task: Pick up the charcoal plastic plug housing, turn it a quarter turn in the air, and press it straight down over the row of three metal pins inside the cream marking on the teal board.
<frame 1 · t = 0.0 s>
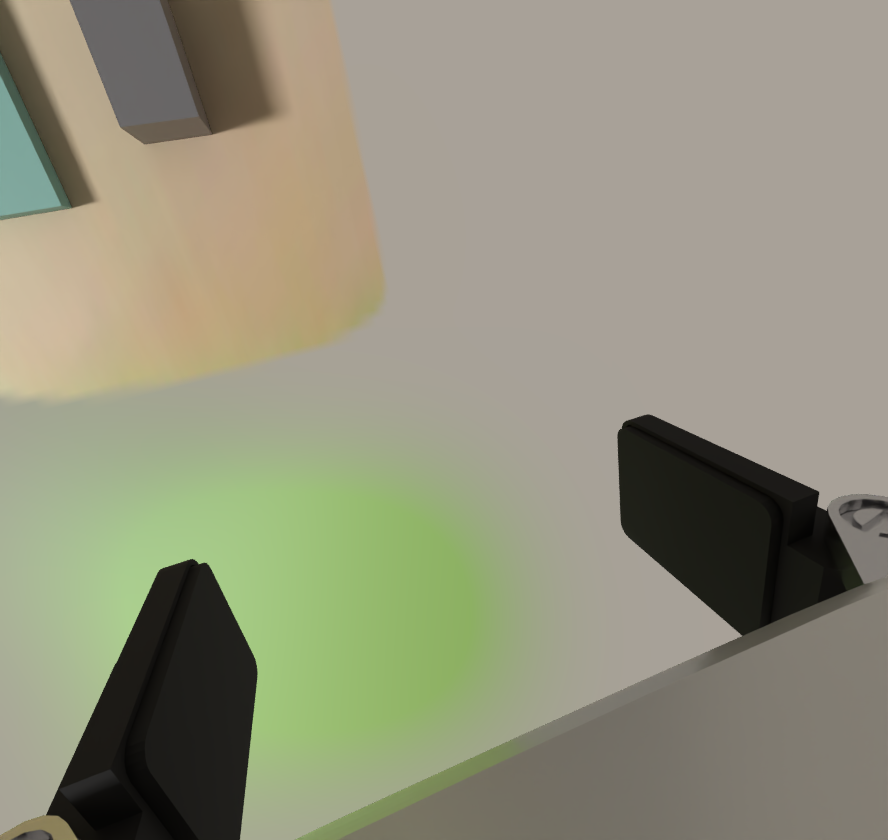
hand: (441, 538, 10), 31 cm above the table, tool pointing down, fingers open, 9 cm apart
plug housing: (153, 69, 29), on the table
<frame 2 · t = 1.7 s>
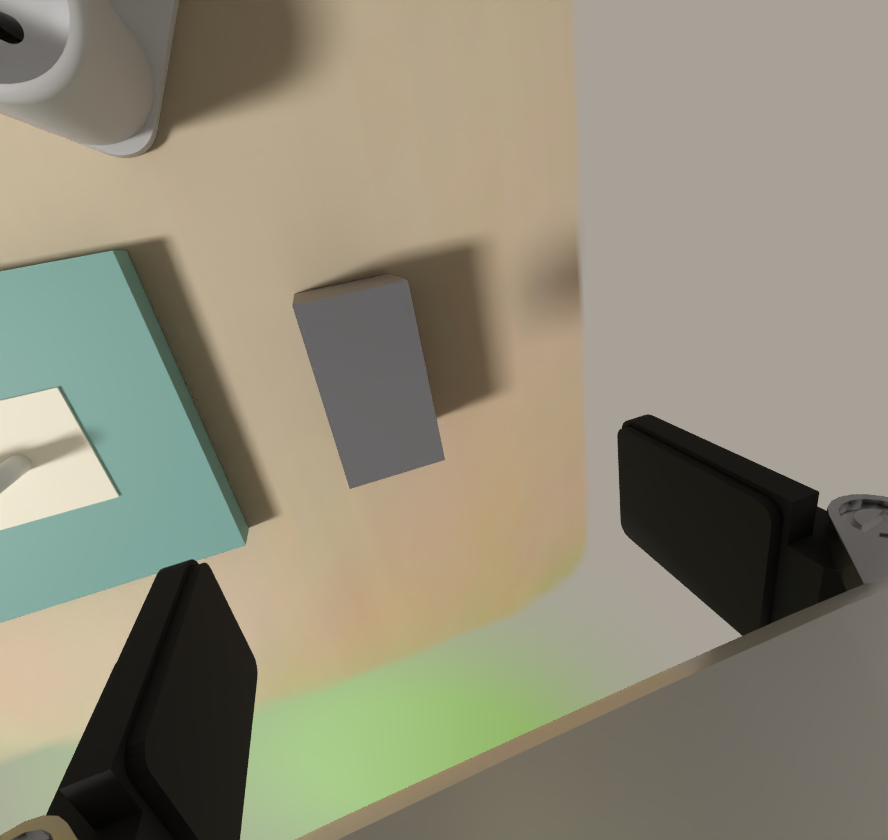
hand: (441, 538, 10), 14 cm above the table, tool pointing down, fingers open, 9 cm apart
plug housing: (363, 365, 23), on the table
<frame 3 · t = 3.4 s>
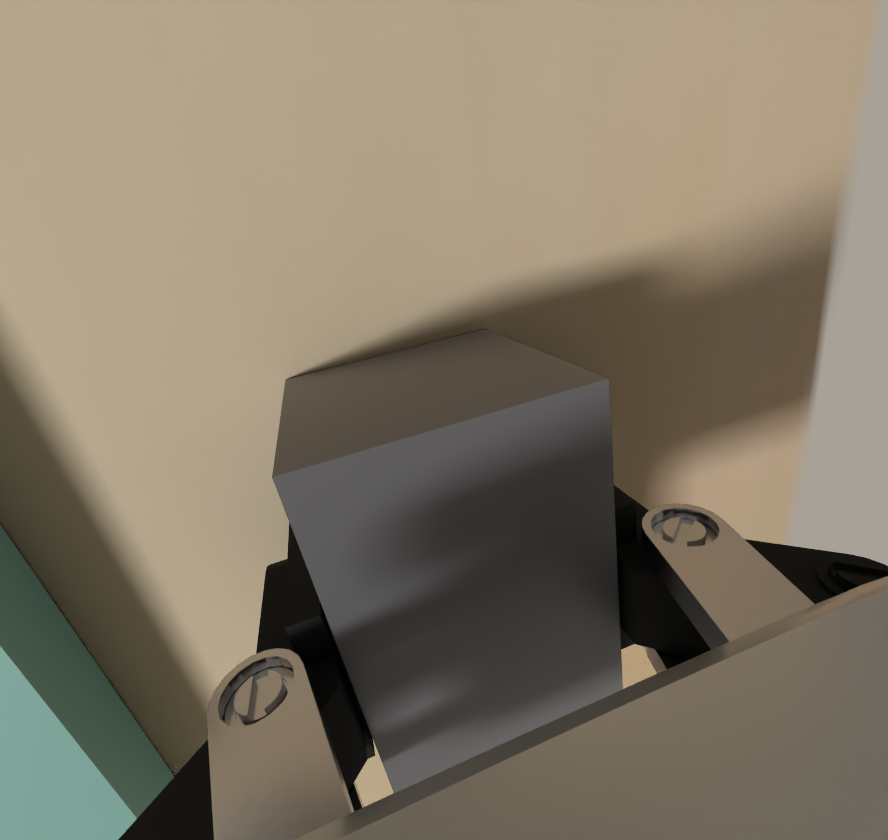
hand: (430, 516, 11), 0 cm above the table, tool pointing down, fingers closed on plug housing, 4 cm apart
plug housing: (427, 508, 11), on the table, touching gripper
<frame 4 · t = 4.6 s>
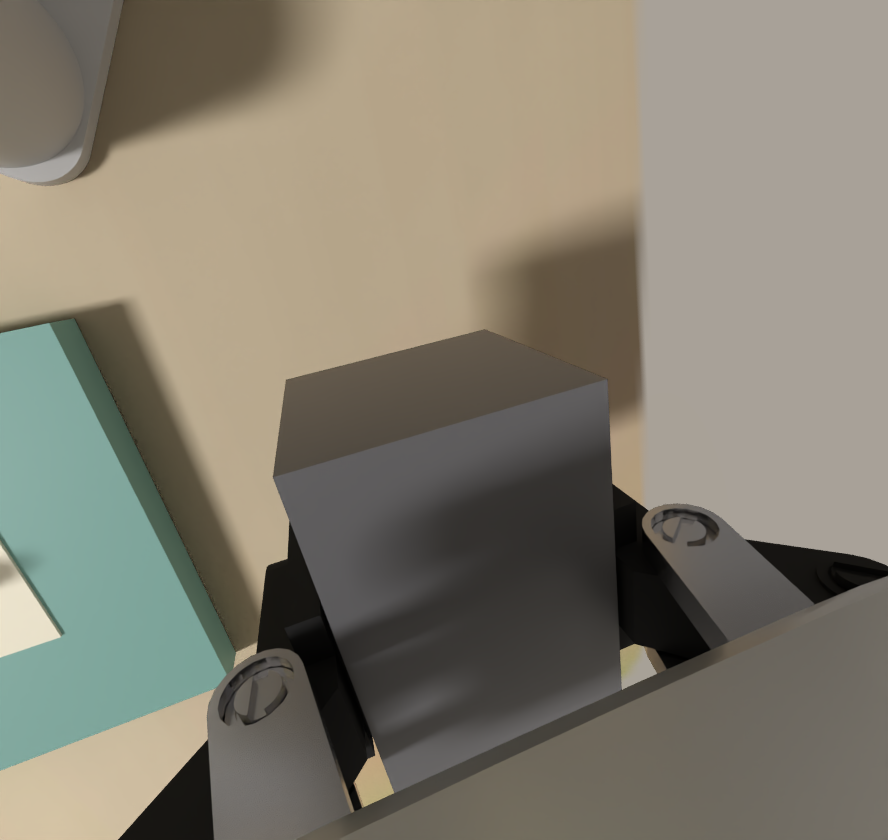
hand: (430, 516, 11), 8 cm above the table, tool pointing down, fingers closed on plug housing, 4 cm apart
plug housing: (426, 508, 11), point 7 cm above the table, touching gripper
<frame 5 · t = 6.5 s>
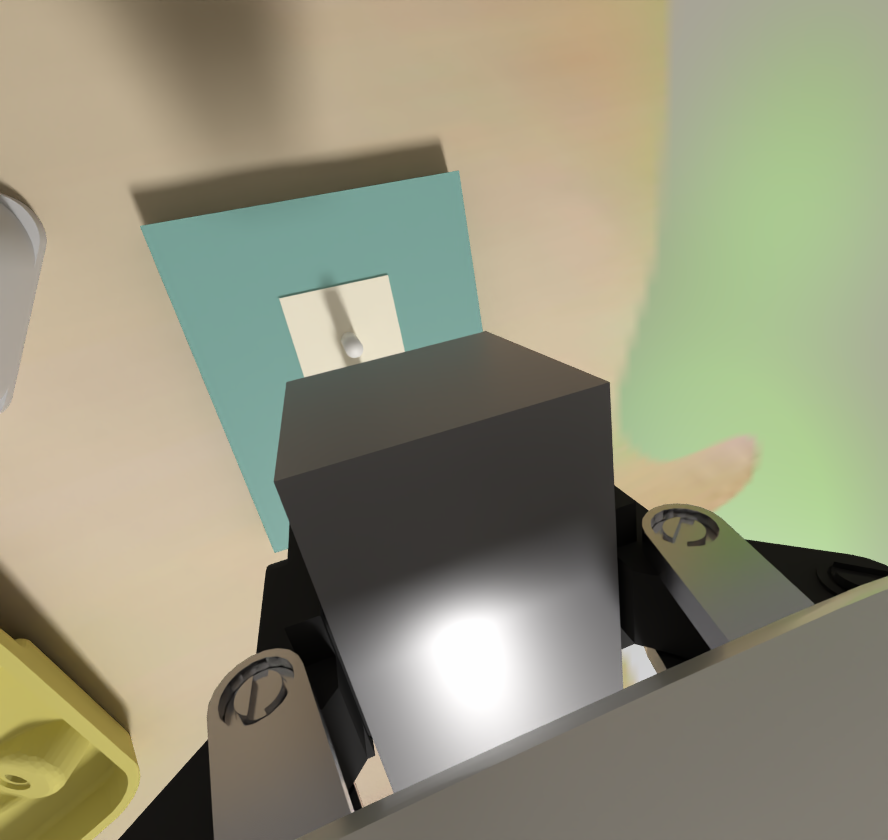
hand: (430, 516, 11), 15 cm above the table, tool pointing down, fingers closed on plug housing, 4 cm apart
plug housing: (427, 510, 11), point 15 cm above the table, touching gripper
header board: (355, 370, 25), on the table
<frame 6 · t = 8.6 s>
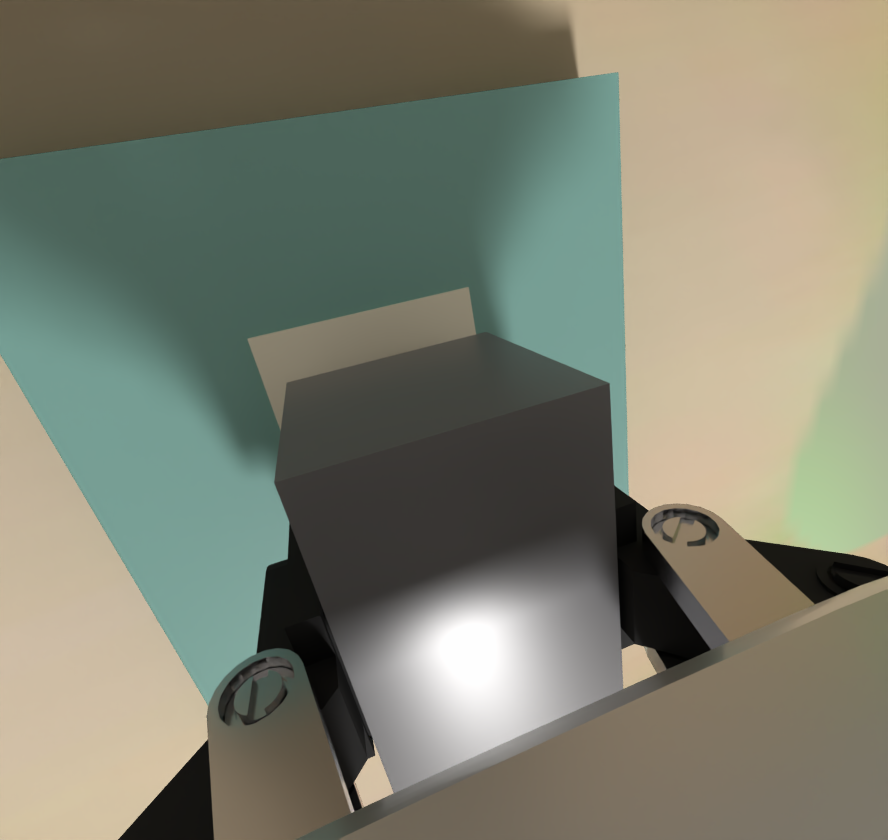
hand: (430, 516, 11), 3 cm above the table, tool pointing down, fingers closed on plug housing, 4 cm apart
plug housing: (427, 510, 11), point 3 cm above the table, touching gripper
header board: (394, 457, 14), on the table
when the fingers open (2 cm above the table, at t = 9.9 s): plug housing stays where it is, resting on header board.
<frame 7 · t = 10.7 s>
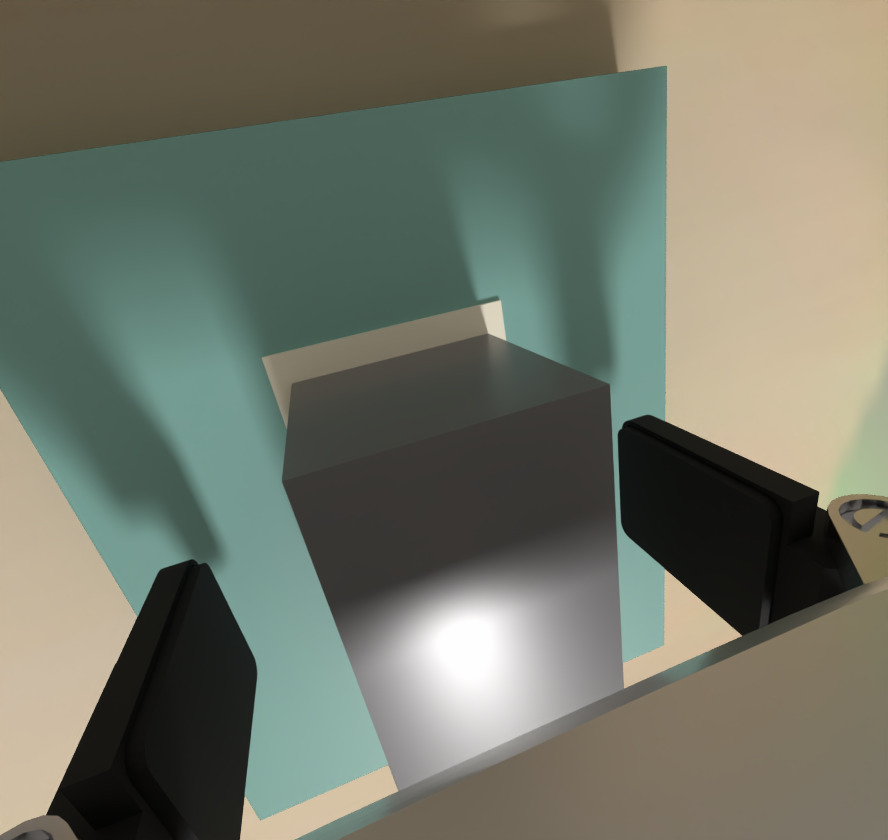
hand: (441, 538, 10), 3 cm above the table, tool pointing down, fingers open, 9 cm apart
plug housing: (430, 510, 11), point 2 cm above the table, touching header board
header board: (415, 480, 13), on the table
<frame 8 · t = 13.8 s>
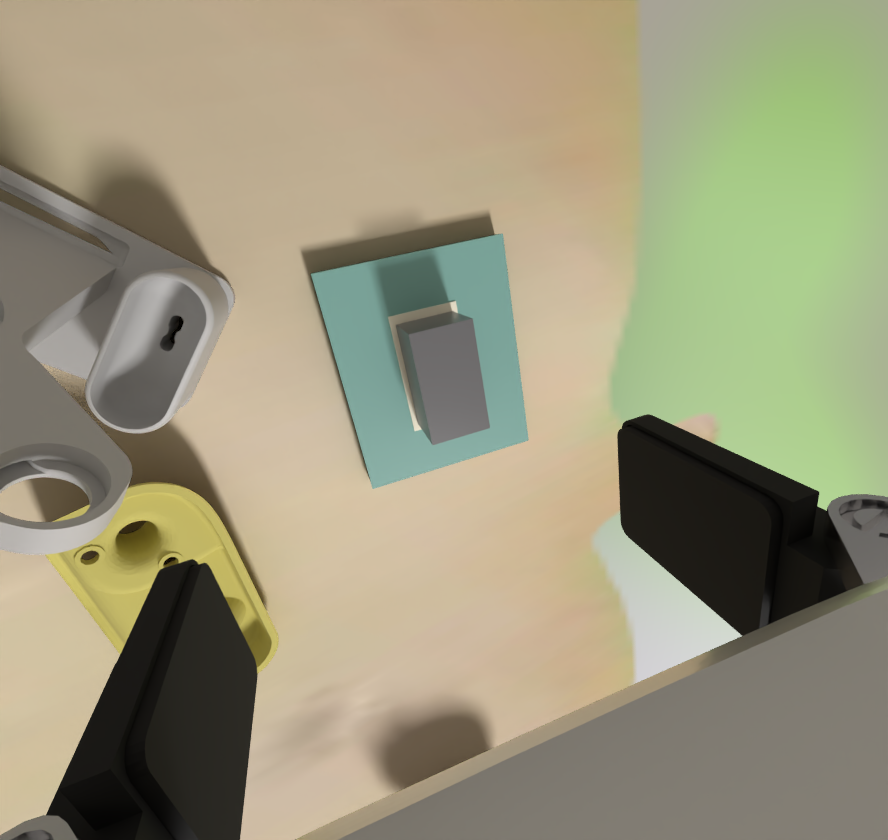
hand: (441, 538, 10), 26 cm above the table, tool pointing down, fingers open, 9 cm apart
plastic component: (180, 567, 36), on the table
plug housing: (434, 369, 35), point 2 cm above the table, touching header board
phone holder: (76, 292, 28), on the table, touching arm
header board: (429, 364, 36), on the table
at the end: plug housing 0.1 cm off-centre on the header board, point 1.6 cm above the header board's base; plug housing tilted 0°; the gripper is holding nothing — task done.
